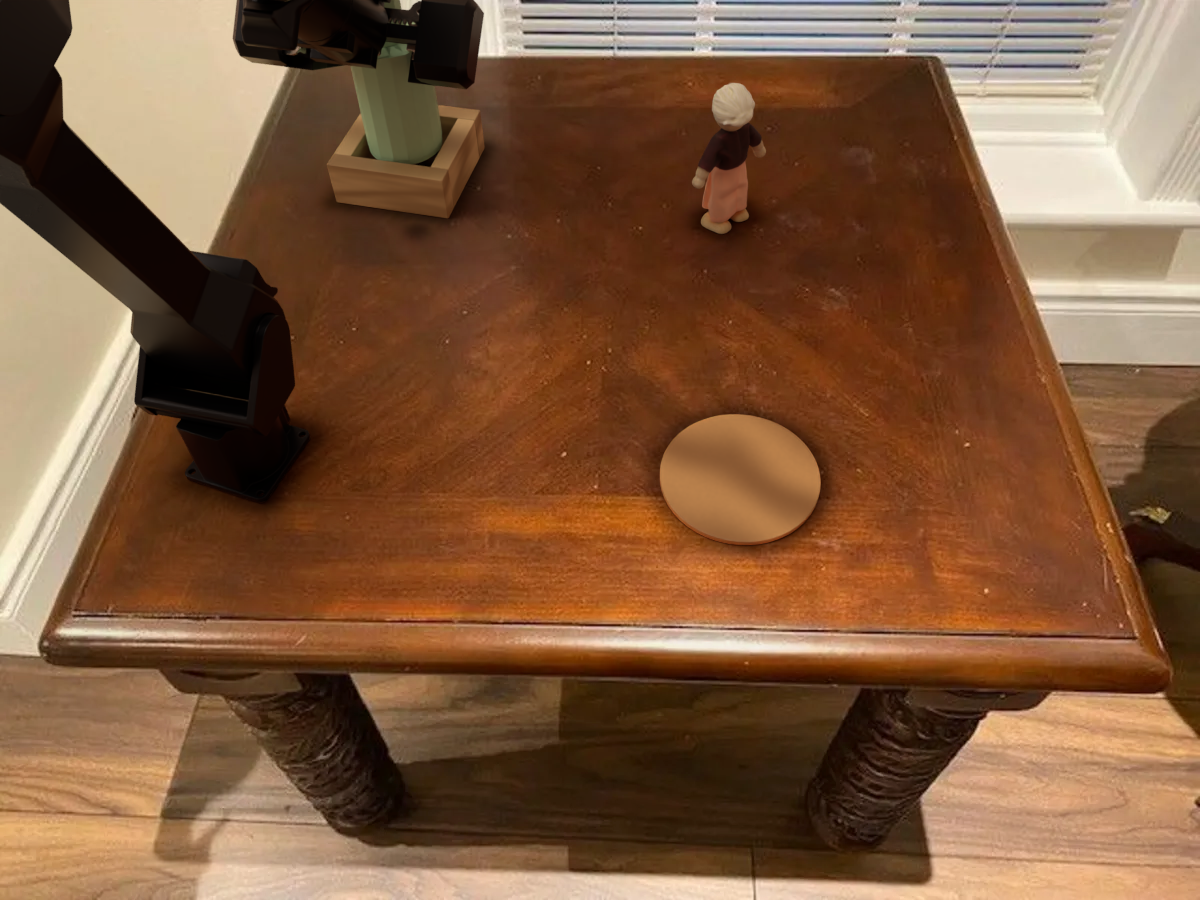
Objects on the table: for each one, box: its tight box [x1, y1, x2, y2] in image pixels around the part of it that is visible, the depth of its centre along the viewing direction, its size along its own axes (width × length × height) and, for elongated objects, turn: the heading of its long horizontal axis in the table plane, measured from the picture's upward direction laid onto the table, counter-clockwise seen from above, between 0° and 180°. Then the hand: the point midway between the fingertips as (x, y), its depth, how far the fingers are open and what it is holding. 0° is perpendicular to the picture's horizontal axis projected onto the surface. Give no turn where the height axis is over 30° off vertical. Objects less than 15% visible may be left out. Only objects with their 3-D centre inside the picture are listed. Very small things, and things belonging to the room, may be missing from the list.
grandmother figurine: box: [691, 82, 767, 235], centre depth 83 cm, size 8×4×13 cm, turn 141°
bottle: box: [350, 0, 443, 165], centre depth 85 cm, size 6×6×14 cm
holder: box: [326, 104, 486, 219], centre depth 92 cm, size 10×10×4 cm
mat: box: [659, 413, 822, 546], centre depth 71 cm, size 11×11×1 cm
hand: (398, 60), depth 86 cm, fingers closed on bottle, 6 cm apart
